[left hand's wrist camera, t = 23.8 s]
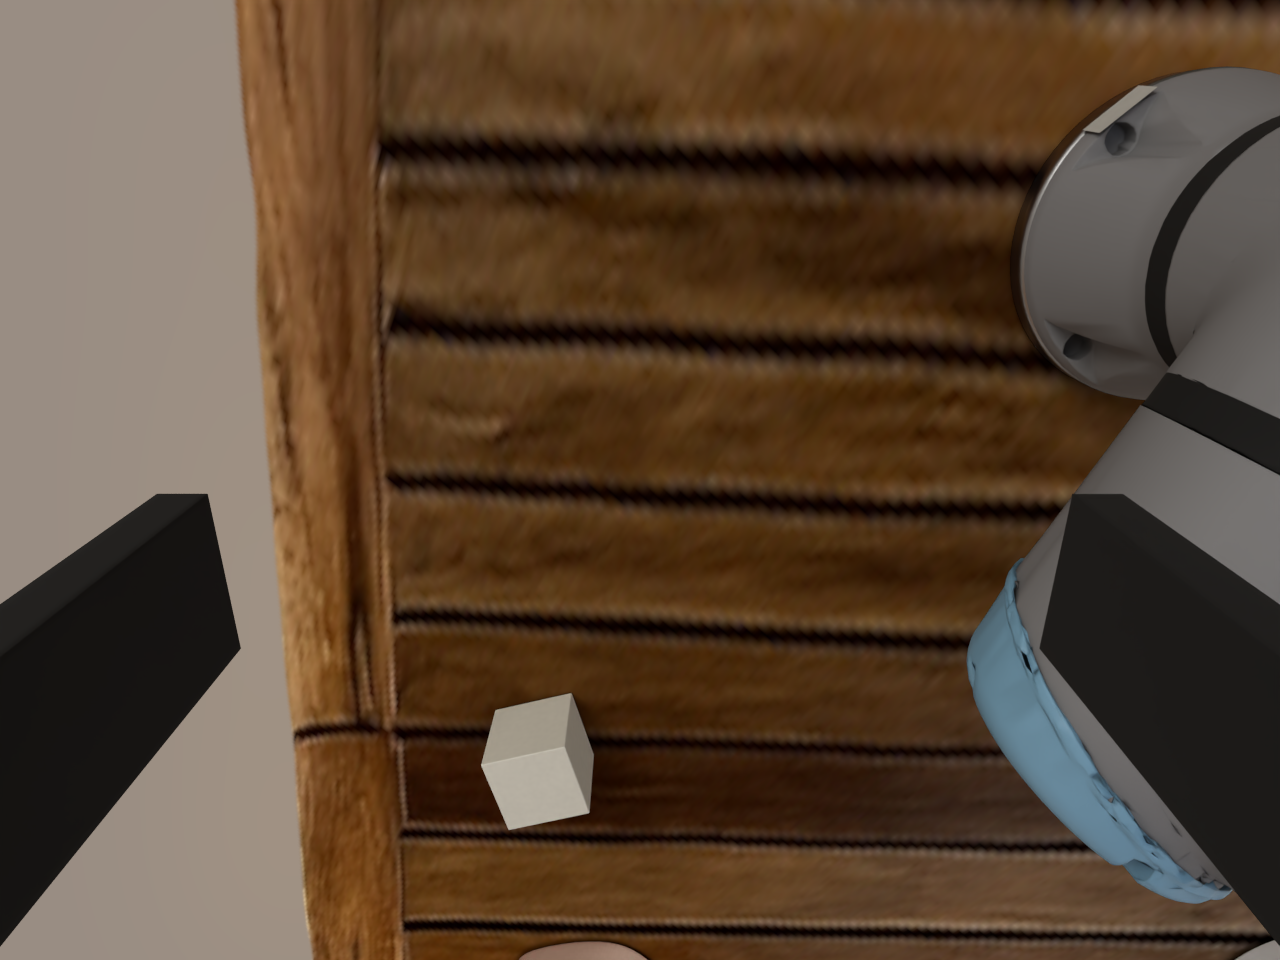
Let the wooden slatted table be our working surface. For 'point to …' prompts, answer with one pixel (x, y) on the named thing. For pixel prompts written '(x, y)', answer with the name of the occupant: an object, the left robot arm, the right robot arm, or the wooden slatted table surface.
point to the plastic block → (539, 762)
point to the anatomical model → (584, 952)
